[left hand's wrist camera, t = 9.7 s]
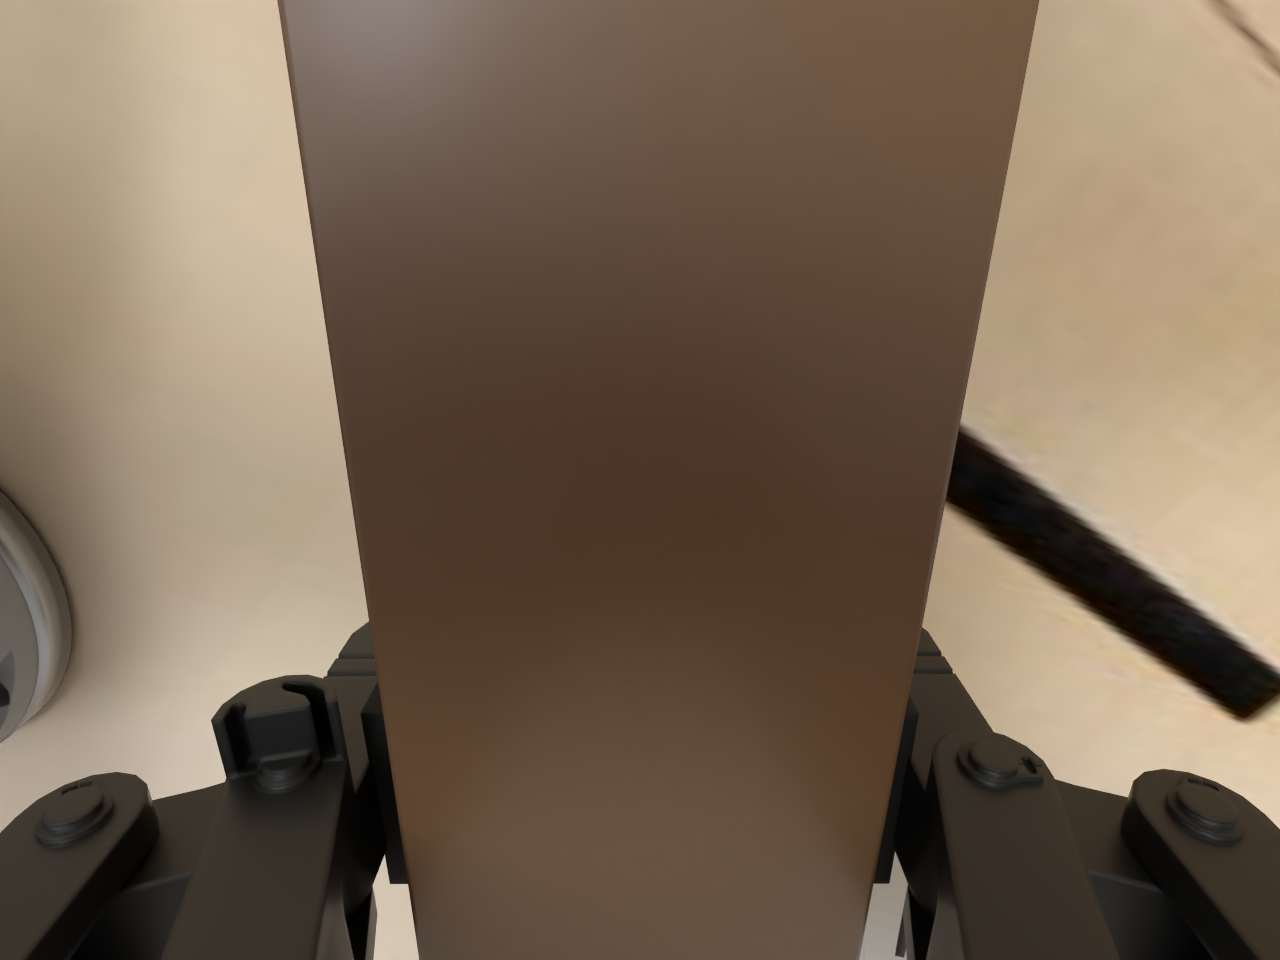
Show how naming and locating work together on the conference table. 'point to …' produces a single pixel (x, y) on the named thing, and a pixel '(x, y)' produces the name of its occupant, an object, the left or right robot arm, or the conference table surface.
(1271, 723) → the conference table surface
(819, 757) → the beam
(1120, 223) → the conference table surface
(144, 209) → the conference table surface
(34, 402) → the conference table surface
